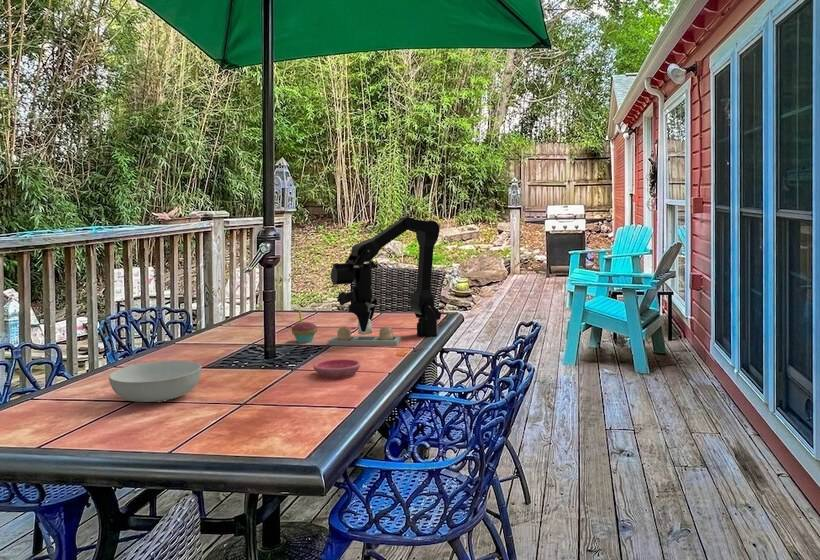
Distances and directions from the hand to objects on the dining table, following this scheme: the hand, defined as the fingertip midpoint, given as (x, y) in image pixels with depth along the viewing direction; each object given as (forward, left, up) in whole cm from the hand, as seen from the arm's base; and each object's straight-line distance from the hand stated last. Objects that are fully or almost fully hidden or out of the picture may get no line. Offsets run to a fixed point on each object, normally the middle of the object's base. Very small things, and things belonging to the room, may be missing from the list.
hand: (365, 330), depth 222 cm
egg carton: (0, 0, -5) cm, 5 cm away
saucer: (-1, +40, -5) cm, 40 cm away
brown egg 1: (+7, 0, -4) cm, 8 cm away
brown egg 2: (-7, 0, -4) cm, 8 cm away
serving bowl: (+37, +65, -5) cm, 75 cm away
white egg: (0, 0, -1) cm, 1 cm away
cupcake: (+21, -2, -5) cm, 22 cm away
